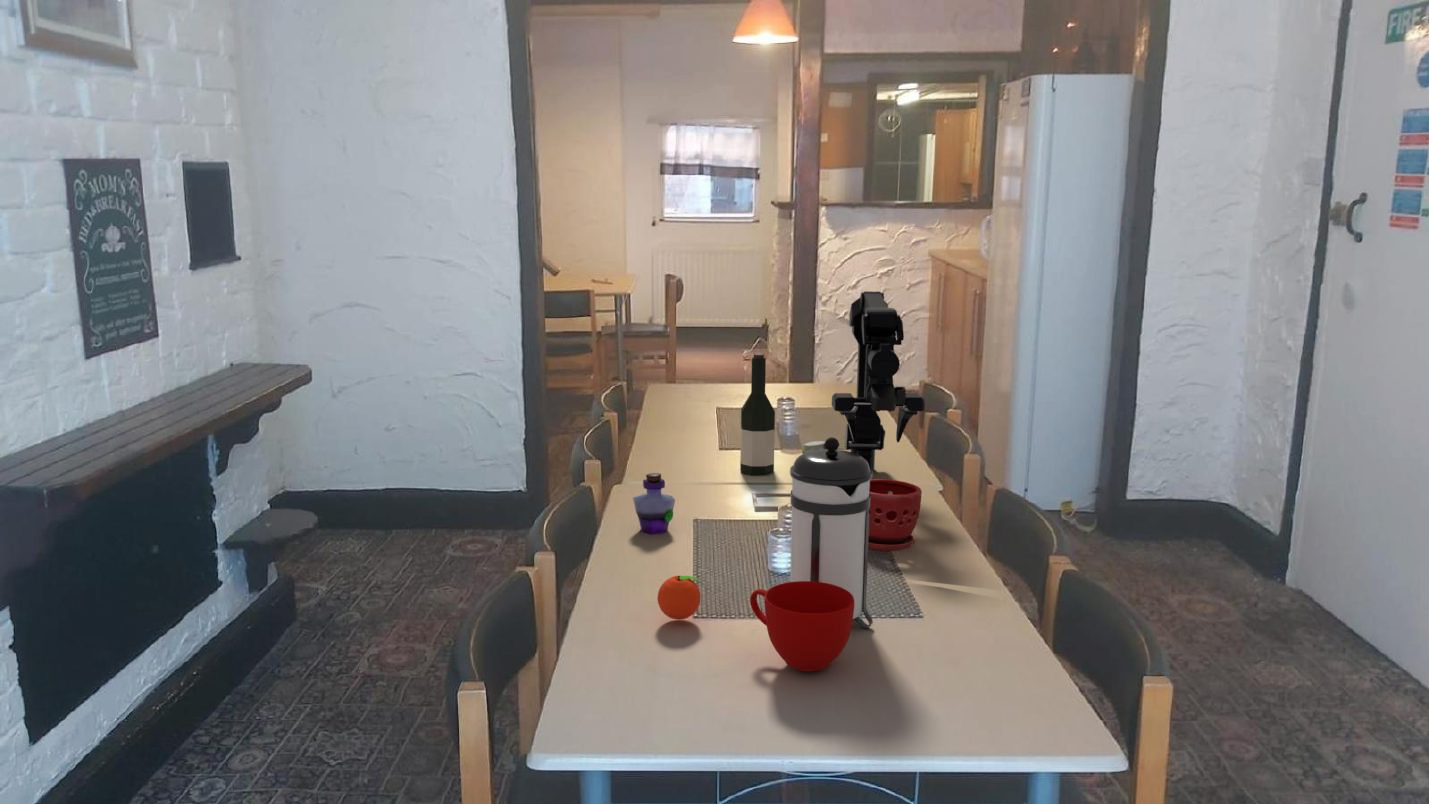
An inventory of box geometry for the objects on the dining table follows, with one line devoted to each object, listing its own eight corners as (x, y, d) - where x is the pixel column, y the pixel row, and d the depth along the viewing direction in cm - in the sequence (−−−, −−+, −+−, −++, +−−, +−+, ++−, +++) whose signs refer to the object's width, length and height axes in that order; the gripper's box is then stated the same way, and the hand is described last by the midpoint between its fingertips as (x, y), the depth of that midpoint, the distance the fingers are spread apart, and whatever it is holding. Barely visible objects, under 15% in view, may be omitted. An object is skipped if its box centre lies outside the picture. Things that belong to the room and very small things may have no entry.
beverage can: (832, 498, 241) (833, 445, 239) (799, 496, 243) (800, 444, 240) (834, 490, 247) (836, 439, 245) (802, 488, 249) (804, 437, 246)
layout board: (750, 500, 239) (750, 492, 238) (899, 501, 239) (899, 492, 239) (753, 517, 227) (753, 507, 226) (909, 517, 228) (910, 508, 227)
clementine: (697, 606, 178) (698, 565, 177) (713, 622, 172) (713, 579, 171) (651, 613, 176) (651, 571, 174) (665, 629, 169) (665, 586, 168)
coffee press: (890, 611, 177) (897, 432, 171) (851, 646, 163) (857, 453, 158) (795, 591, 186) (799, 420, 180) (750, 622, 172) (753, 438, 166)
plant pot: (913, 559, 202) (916, 498, 199) (844, 551, 206) (846, 491, 203) (923, 538, 214) (926, 480, 211) (857, 531, 218) (859, 474, 216)
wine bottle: (733, 476, 258) (734, 352, 252) (764, 473, 262) (766, 350, 256) (749, 485, 251) (750, 357, 245) (780, 481, 254) (783, 355, 248)
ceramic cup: (776, 629, 169) (777, 568, 167) (869, 659, 159) (871, 595, 157) (724, 656, 160) (725, 592, 158) (819, 690, 149) (821, 621, 147)
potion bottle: (670, 540, 212) (670, 480, 209) (628, 537, 213) (627, 478, 211) (679, 526, 220) (679, 469, 218) (637, 524, 221) (637, 467, 219)
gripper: (840, 376, 217) (837, 451, 220) (932, 376, 218) (928, 451, 221) (832, 366, 228) (830, 438, 231) (920, 366, 228) (916, 438, 232)
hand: (876, 441), depth 228 cm, fingers open, 9 cm apart
